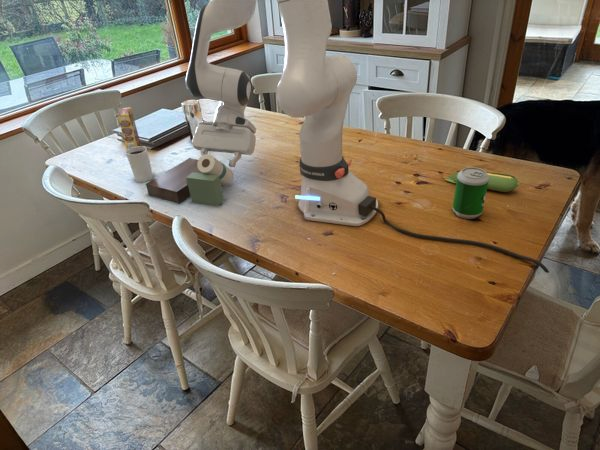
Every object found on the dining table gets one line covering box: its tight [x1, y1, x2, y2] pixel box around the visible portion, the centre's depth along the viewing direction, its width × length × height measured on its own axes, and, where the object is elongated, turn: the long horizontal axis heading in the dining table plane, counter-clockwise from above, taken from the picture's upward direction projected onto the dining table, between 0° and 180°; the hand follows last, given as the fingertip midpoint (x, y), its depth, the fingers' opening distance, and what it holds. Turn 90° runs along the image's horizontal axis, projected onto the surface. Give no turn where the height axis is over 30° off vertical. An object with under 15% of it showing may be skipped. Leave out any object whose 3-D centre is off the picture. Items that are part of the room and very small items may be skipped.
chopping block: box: [145, 157, 204, 204], centre depth 138 cm, size 13×20×4 cm, turn 150°
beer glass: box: [181, 99, 204, 143], centre depth 167 cm, size 7×7×15 cm
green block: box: [186, 172, 225, 207], centre depth 127 cm, size 4×9×8 cm, turn 70°
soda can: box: [451, 166, 489, 220], centre depth 111 cm, size 8×8×12 cm
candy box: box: [117, 106, 142, 150], centre depth 162 cm, size 9×4×15 cm, turn 13°
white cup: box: [125, 146, 154, 183], centre depth 143 cm, size 7×7×10 cm
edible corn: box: [444, 170, 520, 193], centre depth 125 cm, size 5×20×5 cm, turn 62°
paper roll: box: [197, 153, 235, 186], centre depth 131 cm, size 13×6×13 cm, turn 160°
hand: (217, 165), depth 132 cm, fingers open, 8 cm apart
